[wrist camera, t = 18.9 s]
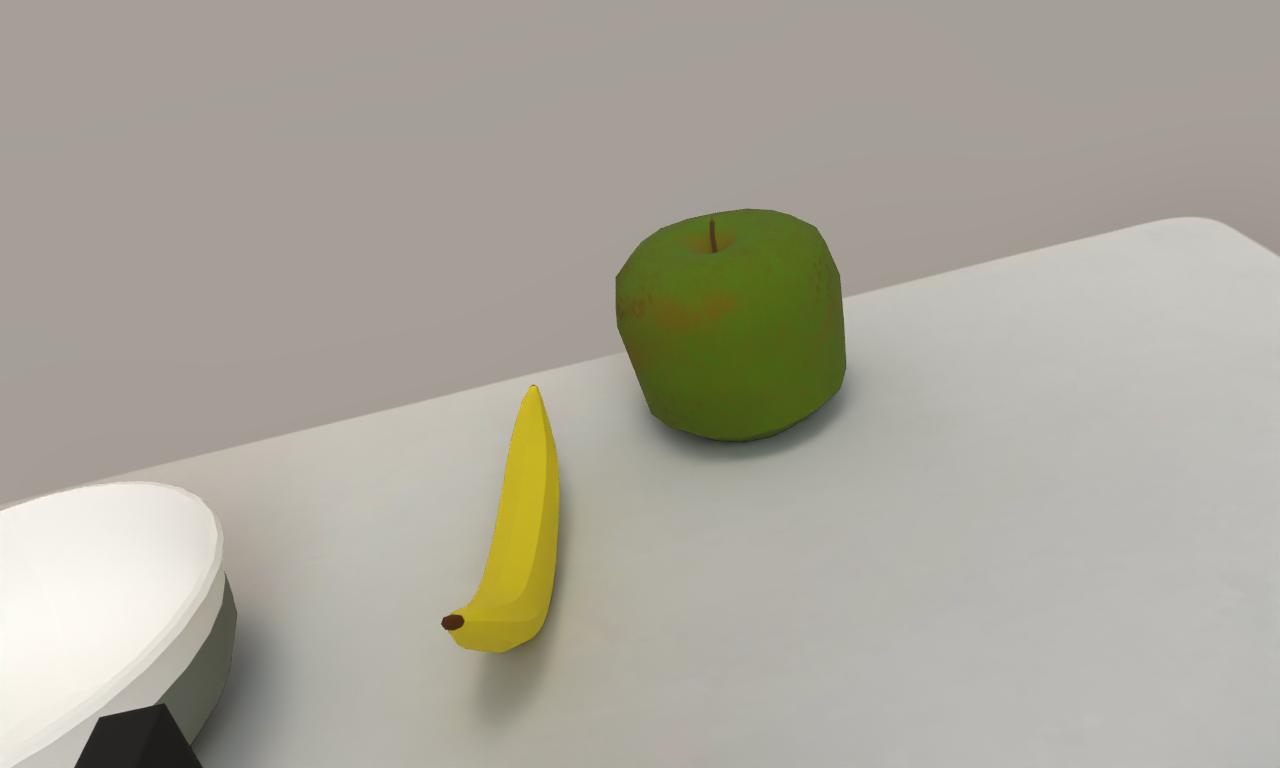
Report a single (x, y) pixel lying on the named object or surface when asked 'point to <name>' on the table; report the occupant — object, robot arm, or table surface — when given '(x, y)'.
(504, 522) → the banana
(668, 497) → the table surface
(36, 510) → the bowl
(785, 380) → the apple
